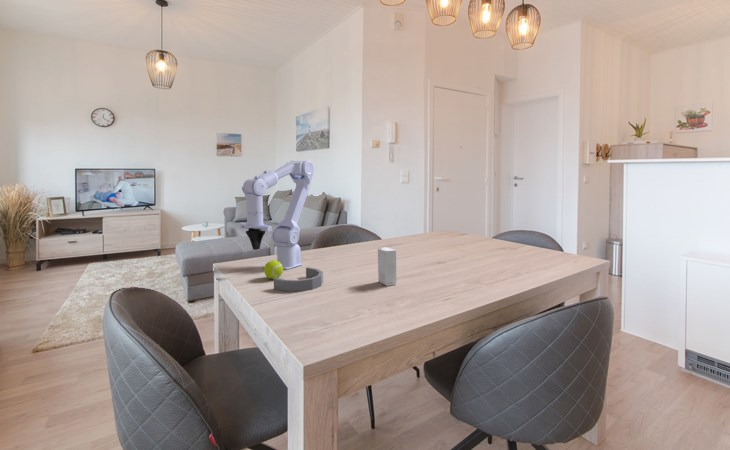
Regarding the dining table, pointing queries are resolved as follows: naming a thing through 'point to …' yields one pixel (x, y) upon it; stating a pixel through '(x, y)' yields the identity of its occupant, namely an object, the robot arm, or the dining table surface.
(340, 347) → the dining table surface
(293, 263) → the robot arm
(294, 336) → the dining table surface
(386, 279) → the skincare box
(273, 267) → the tennis ball
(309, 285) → the catch ring
